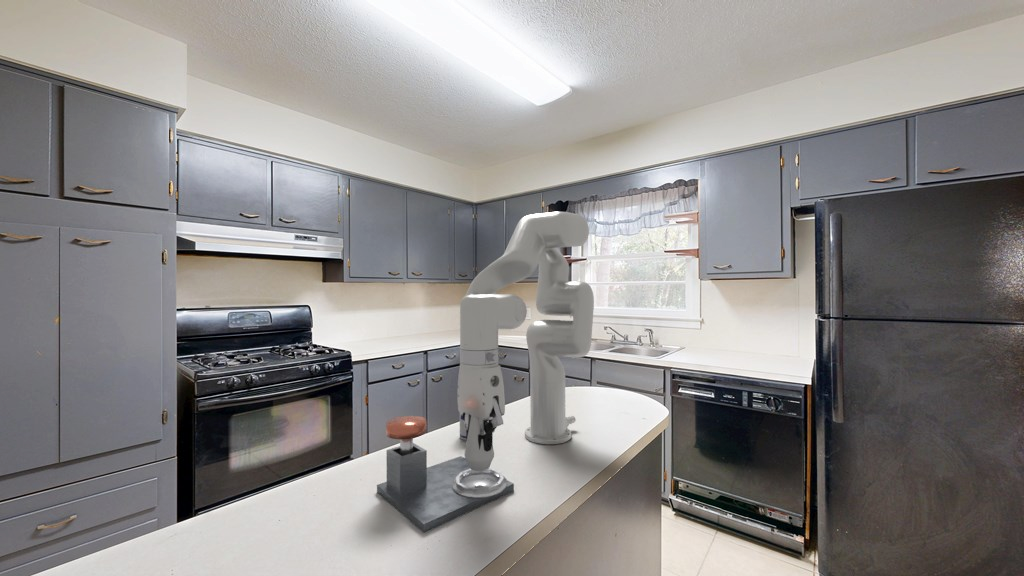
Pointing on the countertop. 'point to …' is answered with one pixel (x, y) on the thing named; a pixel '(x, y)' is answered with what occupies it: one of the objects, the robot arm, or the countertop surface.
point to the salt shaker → (477, 448)
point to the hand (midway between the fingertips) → (479, 450)
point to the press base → (437, 488)
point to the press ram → (406, 431)
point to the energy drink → (462, 428)
